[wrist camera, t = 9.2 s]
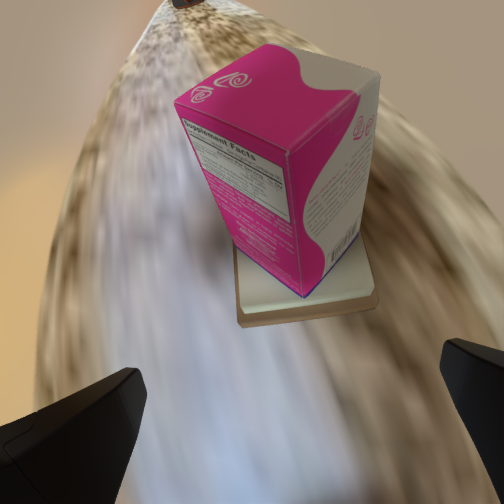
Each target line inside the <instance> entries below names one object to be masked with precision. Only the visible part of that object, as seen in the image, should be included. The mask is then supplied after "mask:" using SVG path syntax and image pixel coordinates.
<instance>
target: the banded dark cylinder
mask: <svg viewBox="0 0 504 504" xmlns="http://www.w3.org/2000/svg"><path fill="white" fill-rule="evenodd" d="M203 1H204V0H172V3H173V6H174V7H175V8H177V9H182V8H187V7H191V6H194V5H197V4H199V3H201V2H203Z"/></svg>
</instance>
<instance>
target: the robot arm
mask: <svg viewBox="0 0 504 504" xmlns="http://www.w3.org/2000/svg"><path fill="white" fill-rule="evenodd" d="M440 371H441V374H442V376H443V378H444V381H445V383H446V386H447V388H448V390H449V393H450V395H451V398H452V400H453V403H454V405H455V407H456V409H457V411H458V413H459V415H460V417H461V419H462V421H463V423H464V425H465V427H466V429H467V431H468V432H469V434H470V436H471V438H472V440H473V442H474V444H475V447H476V449H477V451H478V453H479V455H480V457H481V459H482V461H483V463H484V466H485V468H486V470H487V472H488V474H489V477H490V479H491V481H492V484H493V486H494V488H495V491H496V493H497V495H498V498H499V500H500V503H501V504H504V351H501V350H497V349H494V348H490V347H487V346H483V345H480V344H476V343H473V342H469V341H466V340H463V339H459V338H454V339H449V340H446V341H445V343H444V345H443V350H442V355H441V360H440ZM146 399H147V390H146V387H145V384H144V381H143V377H142V374H141V372H140V370H139V369H138V368H129V367H126V368H124V369H122V370H120V371H118V372H116V373H114V374H112V375H110V376H108V377H106V378H104V379H102V380H100V381H98V382H96V383H94V384H92V385H90V386H88V387H86V388H84V389H82V390H80V391H78V392H76V393H74V394H72V395H70V396H68V397H65V398H63V399H61V400H59V401H57V402H55V403H53V404H51V405H49V406H47V407H45V408H42V409H40V410H38V411H37V412H34V413H32V414H29V415H27V416H25V417H23V418H20V419H18V420H16V421H14V422H11V423H8V424H5V425H3V426H0V504H115V501H116V498H117V495H118V492H119V489H120V486H121V483H122V480H123V477H124V474H125V471H126V468H127V466H128V463H129V460H130V457H131V454H132V452H133V449H134V446H135V443H136V440H137V437H138V433H139V429H140V425H141V420H142V416H143V412H144V407H145V403H146Z"/></svg>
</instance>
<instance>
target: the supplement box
mask: <svg viewBox="0 0 504 504" xmlns="http://www.w3.org/2000/svg"><path fill="white" fill-rule="evenodd" d="M380 78H381V77H380V74H379V73H378V72H376V71H373V70H371V69H368V68H365V67H361V66H358V65H355V64H352V63H348V62H345V61H341V60H338V59H334V58H331V57H327V56H323V55H320V54H316V53H312V52H309V51H305V50H301V49H297V48H293V47H289V46H285V45H280V44H275V43H267V44H265V45H263V46H261V47H260V48H258V49H256V50H254V51H252V52H251V53H249V54H247V55H245V56H243V57H242V58H240V59H238V60H236V61H235V62H233V63H231V64H230V65H228V66H226V67H225V68H223V69H221V70H220V71H218V72H216V73H215V74H213V75H212V76H210V77H209V78H207V79H205V80H204V81H202V82H201V83H199V84H198V85H196V86H195V87H193V88H192V89H190V90H189V91H187V92H186V93H184V94H183V95H182V96H180V97H179V98H177V99H176V100H175V101H174V106H175V109H176V111H177V113H178V116H179V118H180V120H181V123H182V125H183V127H184V130H185V132H186V134H187V137H188V139H189V141H190V143H191V146H192V148H193V150H194V152H195V155H196V157H197V159H198V162H199V164H200V167H201V169H202V171H203V173H204V175H205V178H206V180H207V182H208V184H209V187H210V189H211V191H212V193H213V196H214V198H215V200H216V202H217V205H218V207H219V209H220V211H221V214H222V216H223V218H224V221H225V223H226V225H227V227H228V230H229V232H230V234H231V236H232V239H233V241H234V243H235V245H236V248H238V249H239V250H240V251H241V252H243V253H244V254H245V255H246V256H248V257H249V258H250V259H252V260H253V261H254V262H255V263H257V264H258V265H259V266H261V267H262V268H263V269H264V270H266V271H267V272H268V273H269V274H271V275H272V276H273V277H275V278H276V279H277V280H279V281H280V282H281V283H282V284H284V285H285V286H286V287H288V288H289V289H290V290H292V291H293V292H294V293H296V294H297V295H298V296H300V297H301V298H303V299H305V298H307V297H308V296H309V295H310V294H311V292H312V291H313V290H314V289H315V288H316V287H317V286H318V285H319V283H320V282H321V281H322V280H323V279H324V277H325V276H326V275H327V274H328V273H329V272H330V270H331V269H332V268H333V267H334V265H335V264H336V263H337V262H338V261H339V259H340V258H341V257H342V256H343V254H344V253H345V252H346V251H347V249H348V248H349V247H350V245H351V244H352V243H353V242H354V240H355V239H356V238H357V236H358V235H359V228H360V223H361V217H362V212H363V206H364V201H365V195H366V189H367V184H368V178H369V171H370V165H371V158H372V151H373V144H374V136H375V127H376V118H377V109H378V99H379V87H380Z"/></svg>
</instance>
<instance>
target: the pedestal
mask: <svg viewBox="0 0 504 504" xmlns="http://www.w3.org/2000/svg"><path fill="white" fill-rule="evenodd" d="M233 256H234V274H235V291H236V307H237V322H238V324H239V325H240V326H241V328H248V327H257V326H265V325H274V324H281V323H289V322H296V321H303V320H310V319H317V318H323V317H330V316H336V315H342V314H348V313H354V312H360V311H365V310H371V309H375V307H376V306H377V304H378V302H379V299H378V295H377V290H376V286H375V282H374V278H373V274H372V270H371V266H370V262H369V258H368V255H367V251H366V247H365V244H364V240H363V237H362V233H361V230H360V228H359V235H358V236H357V238H356V239H355V240H354V242H353V243H352V244H351V245H350V247H349V248H348V249H347V251H346V252H345V253H344V254H343V256H342V257H341V258H340V259H339V261H338V262H337V263H336V264H335V265H334V267H333V268H332V269H331V270H330V272H329V273H328V274H327V275H326V276H325V277H324V279H323V280H322V281H321V282H320V283H319V285H318V286H317V287H316V288H315V289H314V290H313V291H312V292H311V294H310V295H309V296H308V297H307V298H305V299H303V298H301V297H300V296H298V295H297V294H296V293H294V292H293V291H292V290H290V289H289V288H288V287H286V286H285V285H284V284H282V283H281V282H280V281H279V280H277V279H276V278H275V277H273V276H272V275H271V274H269V273H268V272H267V271H266V270H264V269H263V268H262V267H261V266H259V265H258V264H257V263H255V262H254V261H253V260H252V259H250V258H249V257H248V256H246V255H245V254H244V253H243V252H241V251H240V250H239V249H238V248H236V245H235V243H234V241H233Z"/></svg>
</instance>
